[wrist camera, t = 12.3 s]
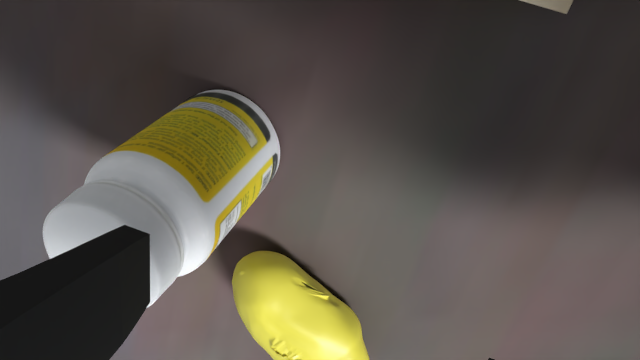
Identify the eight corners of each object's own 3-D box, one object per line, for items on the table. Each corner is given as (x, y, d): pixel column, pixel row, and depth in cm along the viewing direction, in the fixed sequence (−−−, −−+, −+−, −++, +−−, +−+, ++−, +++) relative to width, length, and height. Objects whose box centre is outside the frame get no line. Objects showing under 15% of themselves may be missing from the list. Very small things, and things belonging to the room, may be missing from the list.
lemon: (288, 217, 23) (251, 271, 20) (400, 340, 24) (382, 409, 21) (232, 255, 25) (190, 309, 22) (337, 365, 27) (312, 431, 24)
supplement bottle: (167, 90, 22) (3, 188, 15) (269, 82, 20) (137, 189, 13) (199, 190, 24) (68, 316, 17) (293, 190, 22) (190, 331, 15)
